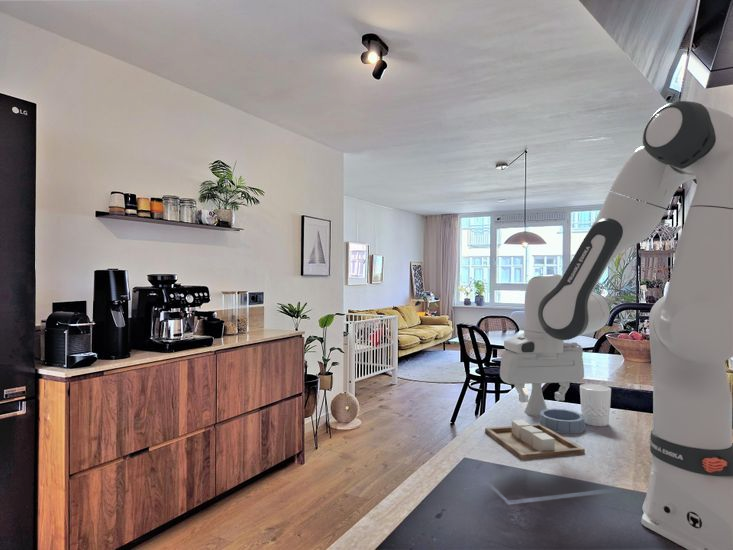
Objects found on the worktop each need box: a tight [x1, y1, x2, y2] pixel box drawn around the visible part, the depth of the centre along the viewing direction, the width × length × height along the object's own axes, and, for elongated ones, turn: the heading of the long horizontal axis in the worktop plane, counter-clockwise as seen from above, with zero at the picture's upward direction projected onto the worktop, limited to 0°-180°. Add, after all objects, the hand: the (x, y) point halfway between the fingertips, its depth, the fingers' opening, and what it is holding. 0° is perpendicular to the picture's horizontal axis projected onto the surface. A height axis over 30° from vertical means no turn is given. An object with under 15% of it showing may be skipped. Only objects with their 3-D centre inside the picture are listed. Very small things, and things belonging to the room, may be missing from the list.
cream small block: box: [511, 419, 532, 438], centre depth 118 cm, size 4×3×3 cm
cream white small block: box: [521, 426, 543, 446], centre depth 113 cm, size 4×3×3 cm
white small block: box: [533, 433, 555, 451], centre depth 109 cm, size 4×3×3 cm
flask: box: [524, 383, 548, 417], centre depth 137 cm, size 7×7×10 cm
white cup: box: [579, 383, 612, 427], centre depth 130 cm, size 8×8×10 cm
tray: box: [484, 423, 586, 461], centre depth 114 cm, size 18×16×2 cm
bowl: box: [539, 408, 585, 434], centre depth 125 cm, size 11×11×4 cm
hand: (541, 401), depth 109 cm, fingers open, 8 cm apart
